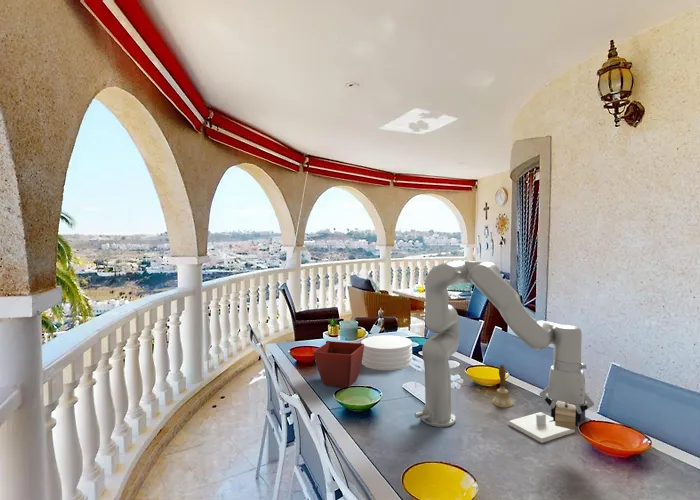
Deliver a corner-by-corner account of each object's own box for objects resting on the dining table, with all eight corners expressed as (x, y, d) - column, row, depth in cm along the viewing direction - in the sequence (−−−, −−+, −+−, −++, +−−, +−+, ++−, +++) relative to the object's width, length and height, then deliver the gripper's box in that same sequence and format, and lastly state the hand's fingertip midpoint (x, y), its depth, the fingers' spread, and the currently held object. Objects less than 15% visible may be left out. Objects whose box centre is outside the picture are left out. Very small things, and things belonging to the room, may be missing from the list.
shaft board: (541, 442, 131) (541, 428, 131) (509, 424, 144) (508, 411, 144) (574, 432, 137) (574, 417, 137) (540, 415, 150) (540, 402, 150)
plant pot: (313, 386, 185) (312, 351, 185) (330, 373, 203) (329, 340, 202) (351, 391, 178) (350, 354, 177) (365, 377, 196) (365, 343, 195)
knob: (575, 430, 120) (575, 412, 120) (555, 425, 123) (555, 407, 123) (575, 420, 126) (576, 403, 126) (556, 416, 129) (557, 399, 129)
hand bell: (515, 408, 157) (515, 368, 157) (493, 406, 159) (493, 367, 159) (511, 399, 166) (510, 361, 165) (490, 398, 167) (490, 361, 167)
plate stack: (378, 351, 239) (378, 333, 239) (420, 359, 222) (420, 339, 222) (351, 364, 216) (350, 343, 216) (396, 374, 200) (395, 351, 199)
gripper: (599, 366, 122) (597, 423, 123) (537, 357, 131) (536, 411, 132) (599, 374, 116) (597, 434, 117) (535, 364, 125) (534, 420, 126)
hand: (565, 421), depth 124 cm, fingers closed on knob, 5 cm apart
